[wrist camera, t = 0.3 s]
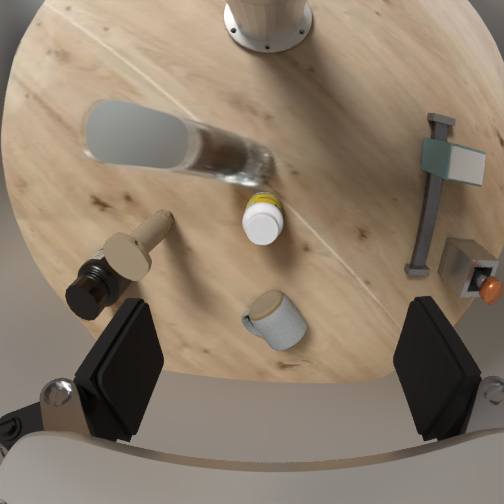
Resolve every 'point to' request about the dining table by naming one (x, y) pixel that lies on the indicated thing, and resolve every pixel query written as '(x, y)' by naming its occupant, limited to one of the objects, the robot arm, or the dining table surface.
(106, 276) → the ink bottle
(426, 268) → the rail
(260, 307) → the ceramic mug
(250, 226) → the supplement bottle
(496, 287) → the plunger
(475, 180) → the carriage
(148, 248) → the handle
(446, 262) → the grey button box
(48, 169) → the dining table surface
